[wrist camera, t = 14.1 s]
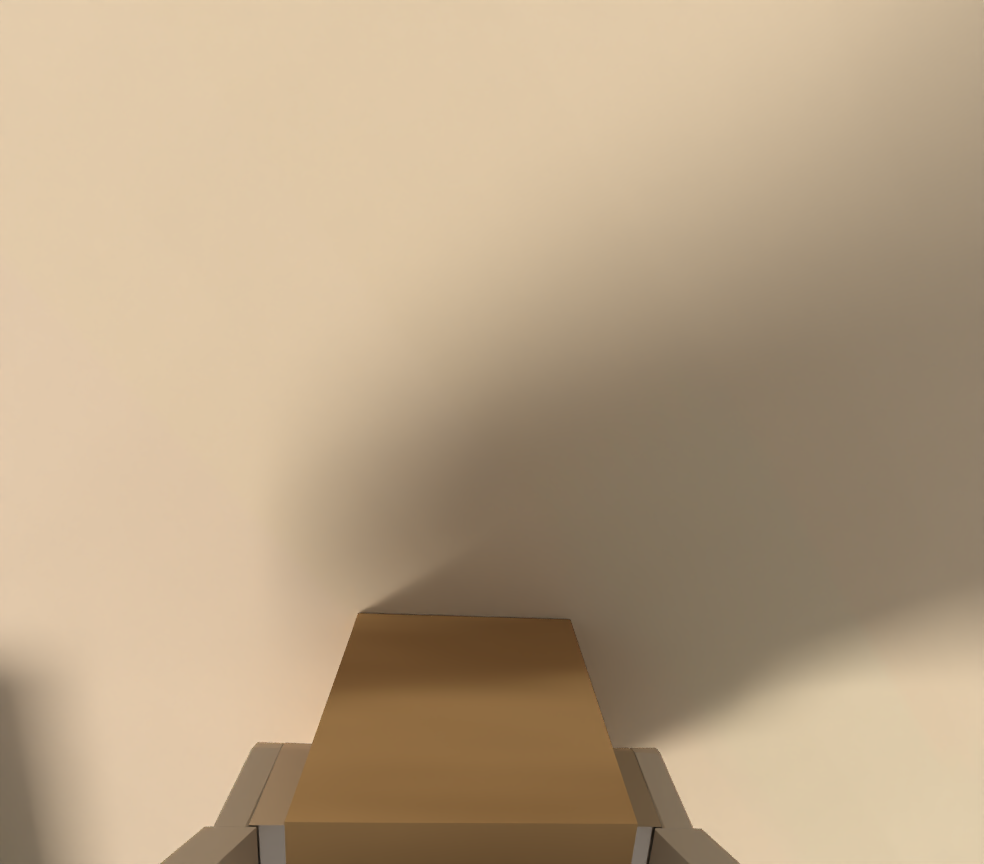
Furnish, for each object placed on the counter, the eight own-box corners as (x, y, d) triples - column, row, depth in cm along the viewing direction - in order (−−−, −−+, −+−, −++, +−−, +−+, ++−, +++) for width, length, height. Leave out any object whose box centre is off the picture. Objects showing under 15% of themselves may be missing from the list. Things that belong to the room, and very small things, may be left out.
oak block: (358, 613, 11) (284, 822, 6) (570, 619, 11) (637, 824, 7) (357, 786, 12) (293, 1068, 7) (551, 788, 12) (598, 1060, 8)
